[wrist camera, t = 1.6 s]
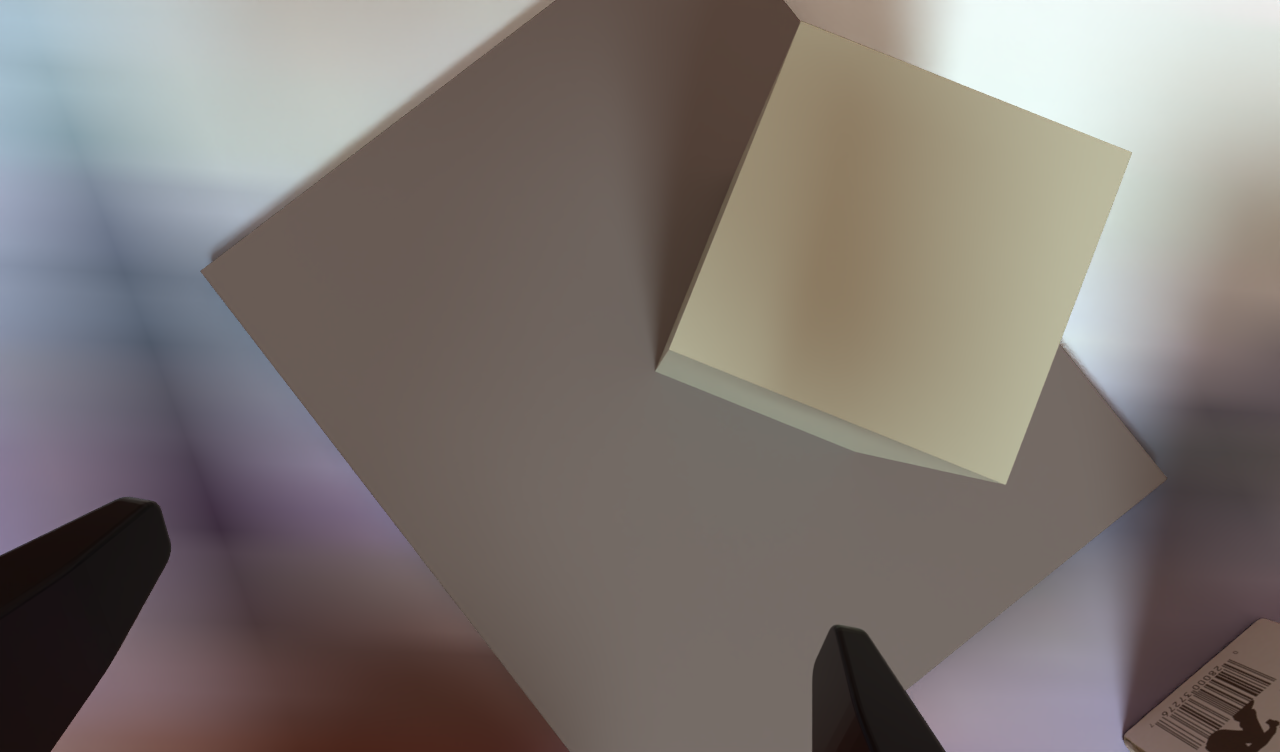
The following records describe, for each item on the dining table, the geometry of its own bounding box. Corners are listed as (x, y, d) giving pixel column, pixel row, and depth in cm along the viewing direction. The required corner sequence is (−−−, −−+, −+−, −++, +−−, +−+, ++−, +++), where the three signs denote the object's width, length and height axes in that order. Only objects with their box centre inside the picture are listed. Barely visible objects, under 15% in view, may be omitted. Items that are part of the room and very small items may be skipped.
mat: (1154, 477, 24) (1167, 478, 23) (668, 869, 23) (669, 881, 23) (695, -95, 25) (697, -108, 24) (211, 274, 24) (200, 271, 23)
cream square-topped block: (932, 253, 24) (1132, 152, 14) (855, 451, 23) (1005, 484, 14) (734, 173, 24) (801, 20, 14) (655, 371, 23) (668, 349, 14)
